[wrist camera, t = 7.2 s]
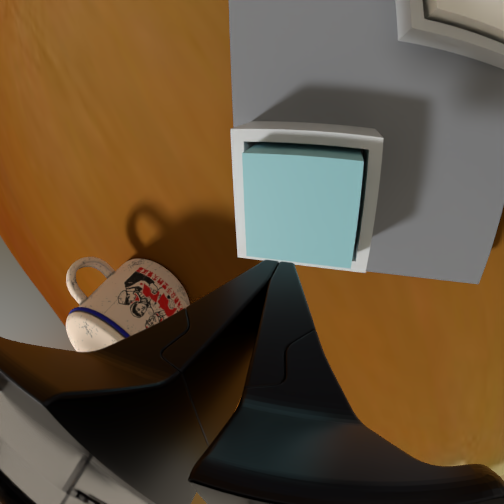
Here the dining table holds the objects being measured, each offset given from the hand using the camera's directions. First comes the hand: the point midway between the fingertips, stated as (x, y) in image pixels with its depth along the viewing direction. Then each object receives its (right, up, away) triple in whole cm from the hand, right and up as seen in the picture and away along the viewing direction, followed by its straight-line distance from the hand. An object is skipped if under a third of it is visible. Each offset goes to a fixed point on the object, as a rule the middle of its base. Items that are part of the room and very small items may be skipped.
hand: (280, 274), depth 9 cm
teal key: (+2, +4, +6) cm, 8 cm away
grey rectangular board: (+7, +11, +6) cm, 14 cm away
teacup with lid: (-12, -2, +21) cm, 24 cm away
